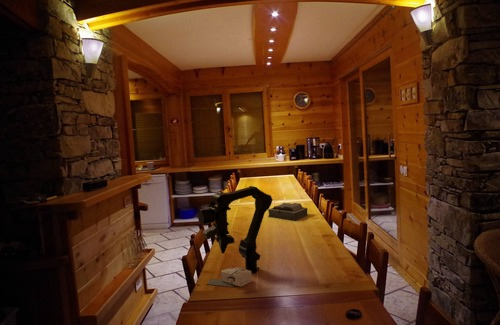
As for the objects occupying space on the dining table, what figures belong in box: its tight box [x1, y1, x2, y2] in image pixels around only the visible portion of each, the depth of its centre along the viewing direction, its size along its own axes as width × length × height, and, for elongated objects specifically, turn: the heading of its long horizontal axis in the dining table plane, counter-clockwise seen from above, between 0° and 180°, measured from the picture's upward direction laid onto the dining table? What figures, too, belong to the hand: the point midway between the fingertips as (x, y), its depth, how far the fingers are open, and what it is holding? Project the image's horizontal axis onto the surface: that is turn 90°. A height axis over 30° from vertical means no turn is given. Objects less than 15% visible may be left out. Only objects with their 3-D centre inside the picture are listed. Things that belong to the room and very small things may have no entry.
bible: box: [267, 202, 309, 222], centre depth 267 cm, size 23×27×10 cm
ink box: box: [220, 265, 253, 287], centre depth 160 cm, size 9×5×12 cm
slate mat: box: [206, 278, 236, 288], centre depth 159 cm, size 6×13×1 cm, turn 73°
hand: (222, 253), depth 161 cm, fingers closed
